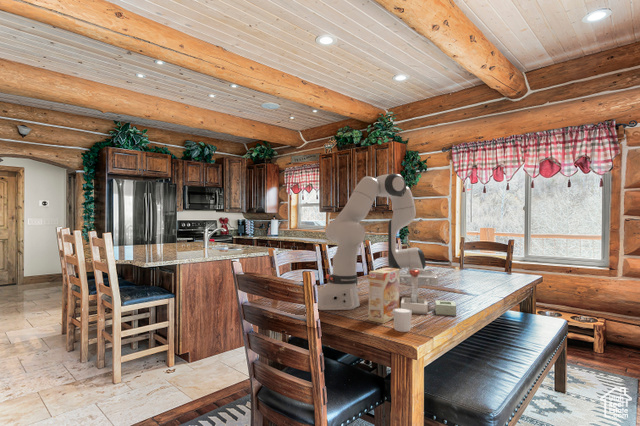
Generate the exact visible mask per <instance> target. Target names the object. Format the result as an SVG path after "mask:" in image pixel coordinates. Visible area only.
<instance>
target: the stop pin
mask: <svg viewBox="0 0 640 426" xmlns="http://www.w3.org/2000/svg"><path fill="white" fill-rule="evenodd" d="M409 274H411V285H410V298H411V303H418V298H419V286H418V274H420V270H409Z"/></svg>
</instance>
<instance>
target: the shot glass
mask: <svg viewBox="0 0 640 426" xmlns="http://www.w3.org/2000/svg"><path fill="white" fill-rule="evenodd" d="M412 314H413V313H412V311H411V310H409V309H405V308H401V307H399V308H396V309H393V327H394V328H393V329H394V330H395V331H396V332H400V333H407V332H410V331H411V324H412Z"/></svg>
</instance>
